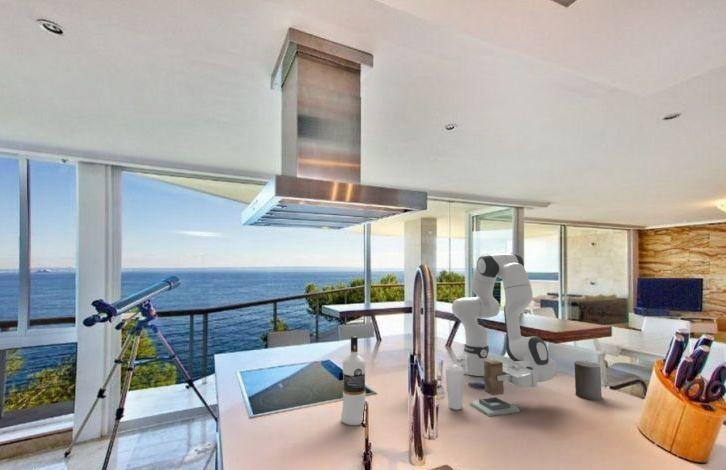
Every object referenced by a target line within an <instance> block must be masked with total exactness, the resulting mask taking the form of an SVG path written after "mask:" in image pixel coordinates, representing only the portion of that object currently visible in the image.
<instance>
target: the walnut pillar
mask: <svg viewBox="0 0 726 470" xmlns="http://www.w3.org/2000/svg"><path fill="white" fill-rule="evenodd" d="M503 364H504V362H502V361H499V360H496V359H491V360H485V361H484V376H483V378H484V379H483V380H484V392H485V393H487V394H489V395H491V396H492V397H495V396H501V395H504V394H505V393H504V388H505V387H504V381H498V380H496V375H503Z"/></svg>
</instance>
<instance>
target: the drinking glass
mask: <svg viewBox="0 0 726 470" xmlns="http://www.w3.org/2000/svg"><path fill="white" fill-rule="evenodd" d="M464 375H465V374H464V373H463V369H462V368H460V367H454V366H453V365H452V366H448V367H446V369H445V380H446V389H447V390H446V391H447V399H448V403H447V404H448V408H449V409H451V410H456V411H459V410H461V409H463V401H464V400H463V397H464V380H465V377H464Z"/></svg>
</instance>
